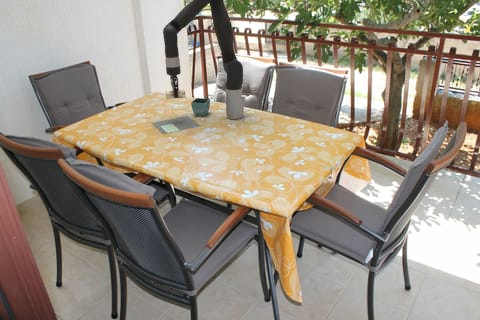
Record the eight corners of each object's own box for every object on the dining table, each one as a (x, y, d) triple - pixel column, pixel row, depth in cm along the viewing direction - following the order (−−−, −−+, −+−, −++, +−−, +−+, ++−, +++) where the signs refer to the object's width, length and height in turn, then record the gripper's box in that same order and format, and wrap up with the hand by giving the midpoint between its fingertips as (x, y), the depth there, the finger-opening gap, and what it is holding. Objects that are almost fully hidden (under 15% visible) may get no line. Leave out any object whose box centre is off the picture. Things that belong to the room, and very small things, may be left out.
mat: (187, 116, 237) (187, 115, 236) (201, 126, 222) (201, 125, 222) (151, 124, 227) (150, 122, 227) (163, 135, 212) (162, 134, 212)
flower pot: (191, 117, 236) (190, 102, 232) (197, 112, 243) (196, 97, 239) (205, 118, 233) (204, 103, 229) (211, 113, 241) (210, 98, 237)
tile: (184, 94, 225) (183, 89, 224) (185, 97, 221) (185, 92, 219) (166, 96, 223) (165, 91, 221) (167, 99, 218) (166, 94, 217)
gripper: (182, 67, 209) (184, 99, 216) (178, 61, 221) (180, 91, 229) (167, 68, 207) (170, 100, 214) (164, 62, 219) (167, 93, 227)
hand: (175, 95), depth 221 cm, fingers closed on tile, 5 cm apart
